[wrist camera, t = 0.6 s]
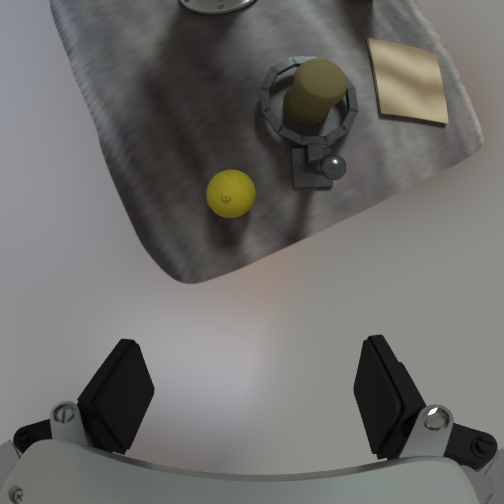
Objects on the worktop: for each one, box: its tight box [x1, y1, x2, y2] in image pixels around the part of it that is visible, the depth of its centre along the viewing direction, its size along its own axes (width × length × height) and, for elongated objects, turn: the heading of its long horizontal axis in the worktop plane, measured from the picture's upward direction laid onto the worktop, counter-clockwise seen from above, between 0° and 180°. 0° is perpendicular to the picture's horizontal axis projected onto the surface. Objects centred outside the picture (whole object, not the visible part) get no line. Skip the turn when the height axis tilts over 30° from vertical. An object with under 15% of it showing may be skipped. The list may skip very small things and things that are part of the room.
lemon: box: [206, 169, 255, 218], centre depth 31 cm, size 6×6×8 cm
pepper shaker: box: [283, 58, 347, 126], centre depth 25 cm, size 6×6×11 cm
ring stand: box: [260, 56, 358, 188], centre depth 25 cm, size 17×12×12 cm
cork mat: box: [366, 38, 449, 124], centre depth 27 cm, size 12×12×1 cm
